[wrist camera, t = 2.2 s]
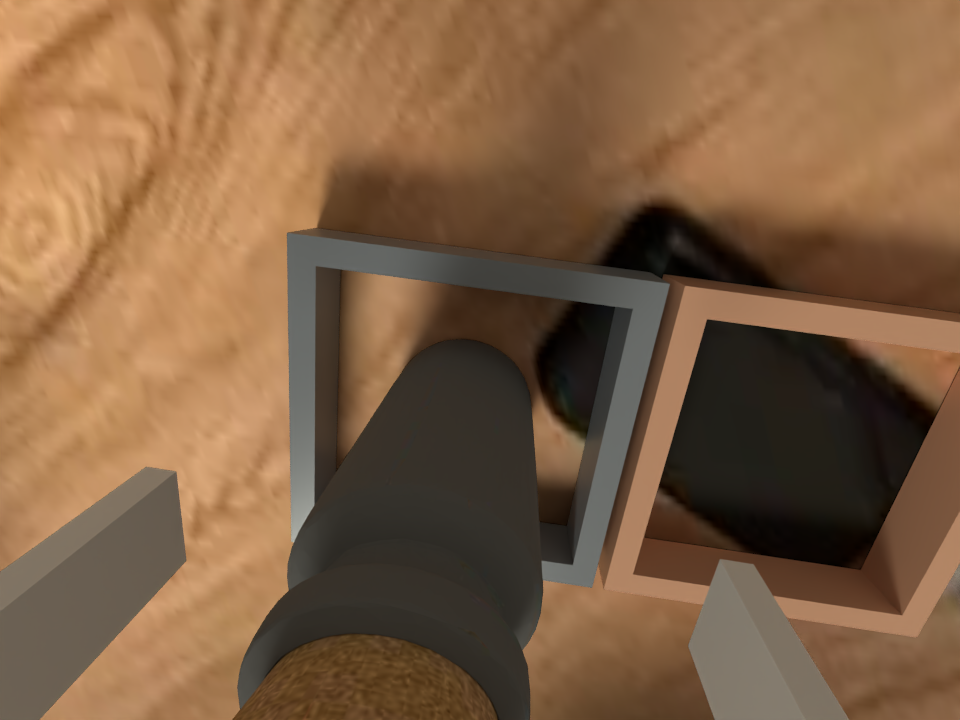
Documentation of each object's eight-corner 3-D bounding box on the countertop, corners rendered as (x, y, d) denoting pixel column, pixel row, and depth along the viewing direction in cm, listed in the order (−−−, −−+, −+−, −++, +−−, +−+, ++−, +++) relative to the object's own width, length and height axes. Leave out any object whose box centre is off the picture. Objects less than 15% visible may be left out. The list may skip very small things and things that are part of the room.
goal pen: (594, 548, 22) (603, 589, 20) (663, 274, 18) (685, 285, 16) (874, 590, 22) (916, 637, 20) (1012, 320, 18) (1088, 339, 15)
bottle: (410, 321, 19) (128, 653, 5) (548, 358, 20) (630, 783, 5) (385, 442, 21) (128, 922, 7) (510, 475, 22) (496, 1014, 7)
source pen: (314, 505, 23) (291, 541, 20) (316, 228, 18) (287, 232, 16) (584, 546, 22) (591, 587, 20) (650, 272, 18) (669, 283, 16)
